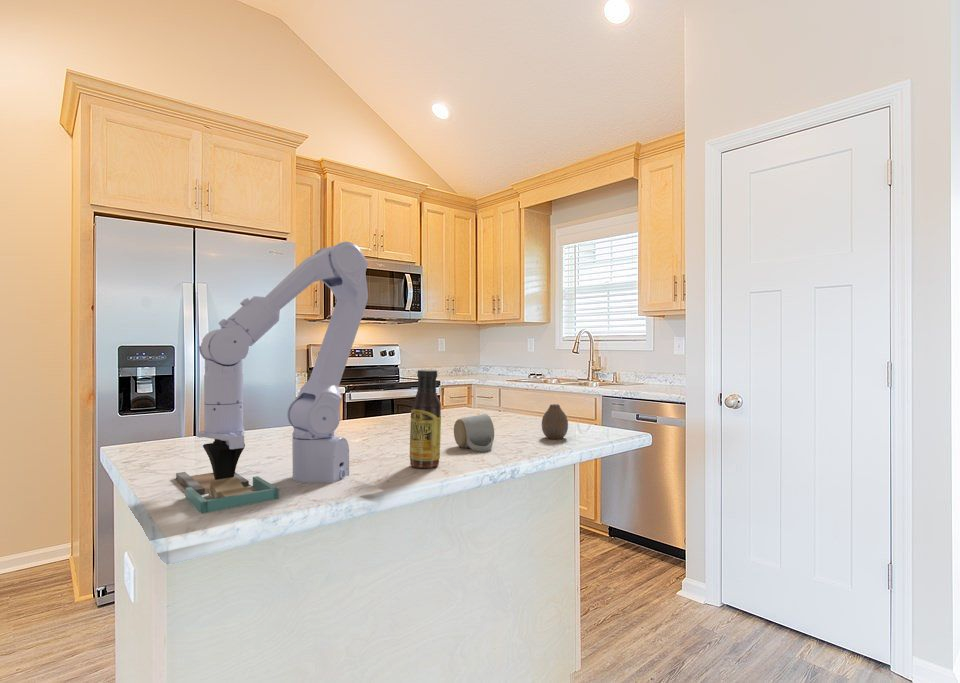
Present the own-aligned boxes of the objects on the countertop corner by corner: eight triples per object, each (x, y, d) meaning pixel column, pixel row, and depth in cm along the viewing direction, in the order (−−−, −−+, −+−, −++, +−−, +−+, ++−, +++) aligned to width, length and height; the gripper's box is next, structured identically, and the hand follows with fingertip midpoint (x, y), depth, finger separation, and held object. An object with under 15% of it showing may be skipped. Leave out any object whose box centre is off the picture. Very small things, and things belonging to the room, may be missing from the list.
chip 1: (242, 501, 86) (244, 487, 86) (215, 506, 84) (216, 492, 83) (235, 490, 89) (236, 476, 89) (209, 495, 87) (210, 480, 86)
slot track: (251, 494, 92) (251, 480, 92) (192, 505, 86) (192, 490, 86) (227, 478, 102) (227, 465, 102) (173, 486, 97) (173, 473, 97)
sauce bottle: (403, 467, 110) (403, 370, 110) (420, 461, 116) (420, 368, 116) (430, 471, 107) (430, 371, 107) (447, 464, 113) (446, 369, 113)
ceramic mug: (451, 445, 133) (451, 414, 133) (481, 442, 137) (481, 412, 136) (469, 454, 123) (469, 421, 123) (501, 451, 127) (501, 418, 127)
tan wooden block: (254, 508, 83) (254, 492, 83) (226, 513, 80) (226, 497, 80) (245, 502, 86) (245, 486, 86) (218, 507, 83) (218, 491, 83)
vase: (537, 436, 144) (537, 403, 144) (560, 435, 147) (560, 402, 147) (548, 441, 138) (548, 406, 138) (572, 439, 140) (572, 405, 140)
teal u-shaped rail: (278, 507, 84) (278, 488, 84) (201, 523, 77) (201, 502, 77) (257, 493, 92) (257, 476, 92) (185, 506, 85) (185, 487, 85)
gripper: (186, 400, 91) (186, 481, 91) (208, 409, 80) (209, 501, 80) (230, 397, 95) (231, 474, 95) (258, 405, 84) (258, 492, 84)
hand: (224, 486), depth 88 cm, fingers closed, pressing on chip 1
